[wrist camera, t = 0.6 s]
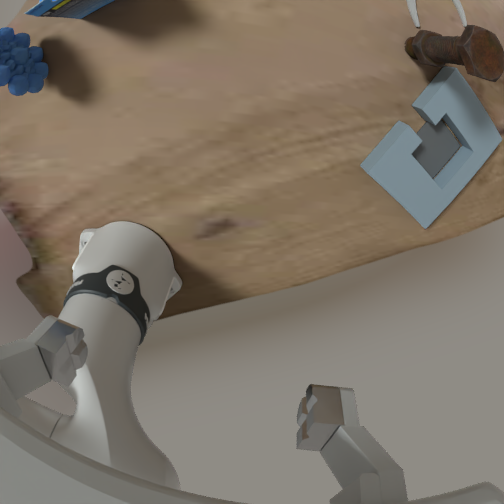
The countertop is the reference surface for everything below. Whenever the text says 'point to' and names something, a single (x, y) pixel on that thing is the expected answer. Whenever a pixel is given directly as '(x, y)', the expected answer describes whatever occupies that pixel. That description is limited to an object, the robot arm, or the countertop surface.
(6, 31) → the grapes
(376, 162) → the pocket frame
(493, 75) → the bolt
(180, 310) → the countertop surface
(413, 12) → the pliers
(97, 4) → the label tape box
